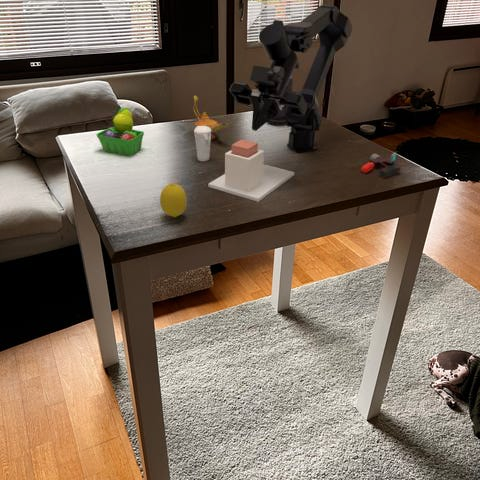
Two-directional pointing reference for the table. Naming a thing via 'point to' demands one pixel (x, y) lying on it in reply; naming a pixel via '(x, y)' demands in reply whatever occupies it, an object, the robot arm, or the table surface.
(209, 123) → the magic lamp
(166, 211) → the lemon
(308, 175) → the table surface
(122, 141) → the fruit basket
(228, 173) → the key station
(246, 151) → the salmon pink square block
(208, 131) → the takeaway coffee cup
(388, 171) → the toy gun
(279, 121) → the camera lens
